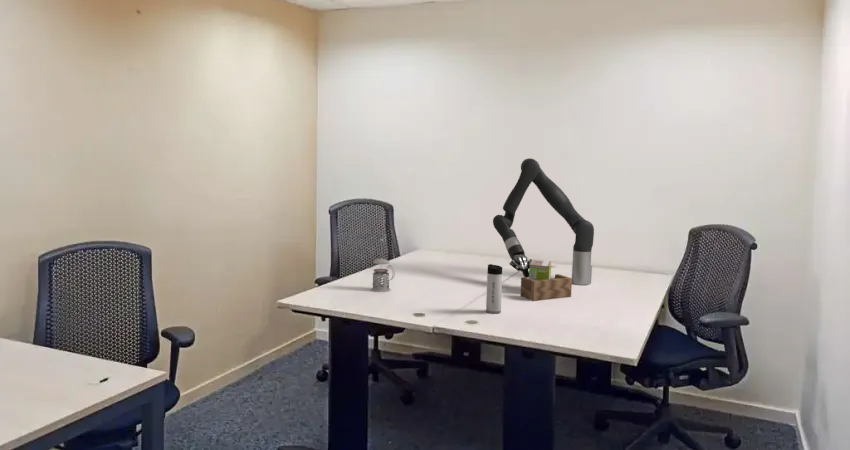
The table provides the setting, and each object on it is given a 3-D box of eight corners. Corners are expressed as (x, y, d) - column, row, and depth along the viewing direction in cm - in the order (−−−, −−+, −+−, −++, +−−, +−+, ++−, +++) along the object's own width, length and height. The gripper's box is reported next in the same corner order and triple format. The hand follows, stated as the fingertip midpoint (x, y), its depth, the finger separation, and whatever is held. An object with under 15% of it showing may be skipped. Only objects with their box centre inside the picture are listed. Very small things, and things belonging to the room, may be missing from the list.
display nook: (557, 292, 310) (558, 274, 309) (571, 296, 301) (572, 278, 300) (520, 296, 300) (521, 277, 299) (533, 301, 291) (534, 281, 290)
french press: (375, 287, 313) (376, 236, 310) (397, 289, 309) (398, 238, 306) (367, 291, 304) (367, 239, 300) (389, 293, 300) (390, 240, 297)
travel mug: (492, 309, 275) (494, 263, 272) (503, 312, 270) (505, 265, 267) (482, 311, 271) (484, 264, 269) (493, 314, 266) (495, 267, 263)
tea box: (548, 296, 301) (550, 265, 299) (527, 294, 304) (528, 264, 302) (550, 289, 316) (551, 260, 314) (529, 288, 318) (531, 258, 316)
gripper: (506, 244, 316) (520, 273, 307) (528, 243, 322) (542, 271, 313) (500, 253, 321) (513, 281, 312) (521, 251, 327) (535, 280, 318)
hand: (527, 276), depth 312 cm, fingers closed
